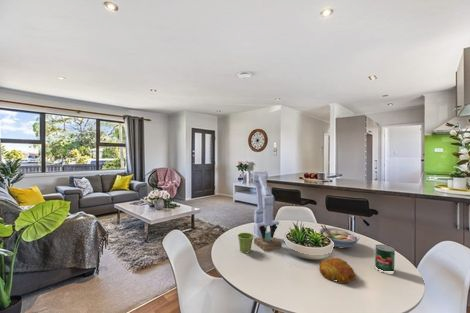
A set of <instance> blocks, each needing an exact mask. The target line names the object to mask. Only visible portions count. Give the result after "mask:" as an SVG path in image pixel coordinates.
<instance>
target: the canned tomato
mask: <svg viewBox="0 0 470 313" xmlns="http://www.w3.org/2000/svg"><path fill="white" fill-rule="evenodd" d="M374 251H375V253H374V254H375V255H374V256H375V257H374V261H375V262H374V267H375V266H376V267H377V268H378V269H381V270H383V271H394V272H395V258H396V257H395V252H396V249H395V248H394V247H392V246H390V245H386V244H376V245H375V250H374Z"/></svg>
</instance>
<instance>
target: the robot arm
mask: <svg viewBox="0 0 470 313" xmlns="http://www.w3.org/2000/svg"><path fill="white" fill-rule="evenodd" d="M268 177H269V173H268V171H262V170H261V171H255V170H254V171H253V172H252V184H253V185H254V186H255V189H256V201H257V202H256V203H257V209H255V210H254V212H253V221H254V224H253V233H252V234H253V235H254V237H255V238H259V237H262V238H263V239H265V232H266V231H268V226H269V232H271V237H272V238H274V235H275V232H276V230H277V228H278V226H279V224H280V221H278V220H274V205H275V203H276V202H275V196H274V195H273V194H272V192H271V188H270V187H269V186H268V184H267V181H268Z"/></svg>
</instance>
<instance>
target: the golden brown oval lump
mask: <svg viewBox="0 0 470 313" xmlns="http://www.w3.org/2000/svg"><path fill="white" fill-rule="evenodd" d="M318 268H319V269H318V270H319V272H320V275H321V276H322V277H324V278H326V279H328V280H330V281H333V280H337V282H336V283H338V282H340V283H339V284H346V282H347V283H350V282H349V281H351V282H352V280H353V279H354V280H355V278H356V272H355V271H354V269H353V267H351V265H350V264H349V263H348V262H347V261H345V260H343V259H341V258H338V257H330V258H326V259H325V260H323V261H320V262H319V267H318ZM354 280H353V281H354ZM341 282H343V283H341Z"/></svg>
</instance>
